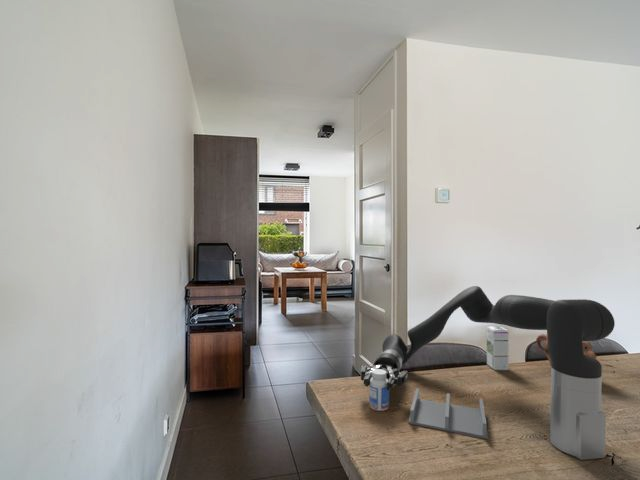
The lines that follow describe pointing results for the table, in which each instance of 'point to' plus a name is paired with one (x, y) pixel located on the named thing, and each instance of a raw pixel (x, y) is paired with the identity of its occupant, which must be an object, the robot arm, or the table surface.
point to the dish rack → (449, 416)
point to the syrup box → (497, 348)
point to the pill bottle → (378, 390)
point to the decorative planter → (586, 349)
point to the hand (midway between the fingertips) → (377, 384)
